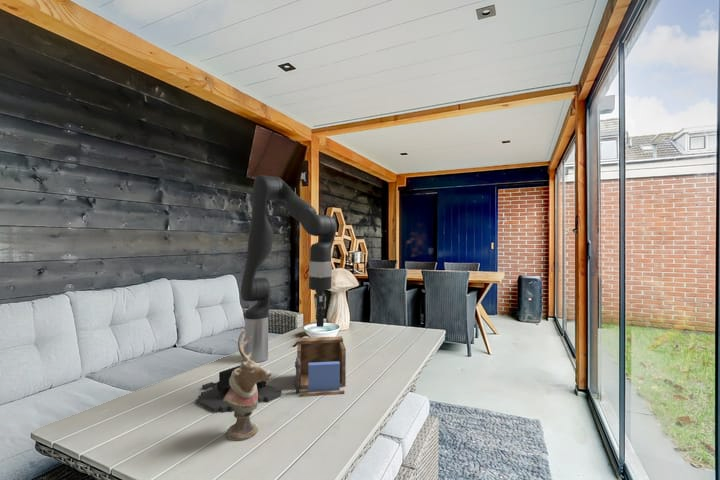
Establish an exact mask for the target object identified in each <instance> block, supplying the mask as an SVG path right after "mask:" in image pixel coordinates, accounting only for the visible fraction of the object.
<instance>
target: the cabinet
mask: <svg viewBox="0 0 720 480" xmlns="http://www.w3.org/2000/svg"><path fill="white" fill-rule="evenodd" d="M296 347H297V350H296V352H297V353H296V358H295V362H294V368H295V380H294V387H295V393H296V394H299V397H313V396H328V395H343V394H345V390H344V389H340V390H337V391H321V392H301V391H300V390H308V368H309V363H314V362H334V361H339V363H340V388H343V387H347V386H346V384H347V383H346V379H347V378H346V371H347V370H346V366H347V365H346V364H347V363H346V360H347V359H346V357H347V356H346V355H347V354H346V353H347V352H346V351H347V350H346V347H345V344H344V338H343V336H342V335H341V336H320V337H319V336H317V337H316V336H315V337H297V346H296Z"/></svg>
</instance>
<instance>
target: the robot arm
mask: <svg viewBox="0 0 720 480" xmlns="http://www.w3.org/2000/svg"><path fill="white" fill-rule="evenodd" d="M267 201H275V202H276V201H279V202H281V203H283V204H285V207H286V210H287V213H288V214H289V216H291V217H292V218H293V219H295V220H296V221H297V222H299V223H300V225H301V226H302V228H303V229H304V232H306V233H307V234H309V235H310V236H313V237H319V238H318V242H315V243H313V244H311V245H310V248H309V266H308V289H309V290H312V291H315V293H313V300H314V303H313V304H314V309H315V321H316V327H318V328H322V327H324V321H325V318H324V317H325V313H326V312H325V309H326V305H327V304H326V301H327V295H326V293H325V291H329V290H331V289H332V280H333V279H332V273H333V271H332V269H333V268H332V249H333V248H332V247H333V245H334V241H335V238H336V234H337V228H338V227H337V222H336V220H335V219H334V217H333V216H332V215H325V214H318V213H317V210H316V208H314V207H313V205H311V204H309V203H308V202H306V200H304V199H302V198H301V197H300V196H299V195H298V194H296V192H294V191H293V189H292V188H291V187H290V186H289V185H288V184H287V183H286V181H284V179H282V178H280V177H279V176H272V175H271V176H270V175H262V174H261V175H258V176H257V177H256V178H255V180H254V182H253V186H252V202H251V203H252V205H251V206H252V209H251V221H250V229H249V234H248V239H247V240H248V242H247V249H246V250H247V252H246V260H245V265H244V266H245V267H244V270H243V275H242V281H241V285H240V297H241V299H242V301H244V302H256V304H254V305H253V306H252V307H250V308H248V309H247V310H245V311H244V331H245V332H244V336H243V343H244V342H245V340H246V339H247V338H249V337H250V336H252V338H251V339H250V341H249V342H248V343H247V344H246V346H245V347H244V349H243V351H244V353H245V354H246V355H248V354H249V353H250V352H253V353H252V354H251V356H252V358H250V360H253V361H254V362H255V363H260V362H265V361H266V360H268V358H269V311H270V300H271V285H270V284H271V283H270V281H269V279H268V278H266V277H256V274H257V272H258V269H259V268H260V267H261V265H262V264H263V263H264V261H265V260H266V259H267V257H268V256H269V255H270V254H271V251H272V249H273V248H272V247H273V243H274V231H273V228H272V225H271V224H270V221H269V218H268V216H267V211H266V210H267ZM243 362H245V360H244V359H243Z"/></svg>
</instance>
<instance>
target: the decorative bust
mask: <svg viewBox="0 0 720 480" xmlns="http://www.w3.org/2000/svg"><path fill="white" fill-rule="evenodd" d="M244 336H245V330H244V331H241V332H240V333H239V336H238V342H237V348H238V351H239V354H240V356H241V357H242V359H243V361H242V362H241V363H240V365H239V366H240V367H239V368H237V369H235V370H233V372H232V374H231V377H230V379H229V384H230V386H231V389H230V390H229V392H228V393H227V394H226V396H225V397H224V399H223V401H224V402H227V403H230V404H232V405H233V407H234V411H233V412H234V413H233V417H234V418H235V419H236V421H235V423H233V424H232V425H230V426H229V427H228V429H227V431H226V435H227V437H228V438H229V439H230V440H233V441H245V440H249V439H251V438H253V437H254V436H255V435H256V434H257V433H258V432H259V426H258V425H257V423H255V422H253V421H251V417H250V416H252V414H253V412H254V411H255V410H256V409H257V408H258V404H259V402H258V390H257V385H256V383H257V382H260V381H262V380H263V381H267V382H269V381H270V379H271V378H272V373H271V371H270V370H269V369H266V368H264V367H261V366H260V362H254V361H253V360H250V358H252V356H251V354H252V353H253V352H250V353H249V354H248V355H246V354H245V353H244V347H245V346H246V344H247V343H248V342H249V341H250V339H251V338H252V336H250V337H249V338H247V339H246V340H245V342H244V341H243V339H244ZM242 341H243V342H242ZM244 360H245V362H244Z"/></svg>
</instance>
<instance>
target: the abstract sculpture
mask: <svg viewBox="0 0 720 480" xmlns="http://www.w3.org/2000/svg"><path fill="white" fill-rule="evenodd" d="M239 367H240V365H237V366H235V367H231V368H228V369H225V370H222V371H219V372H218V381H217V382H213V381H211V382H208V383H205V384H202V387H201V388H202V390H204V391H202V392H200V394H199V395H198V398H196V399H195V404H197V406H198V405H199V406H200V407H202V408H205V409H206V410H208V411H210V412H212V413H213V414H215V413H217V412H221V411H222V413H225V411H226V412H228V411H229V412H231V413H232V412H234V407H233V405H232V404H230V403H227V402H224V401H223V399H224V397H225V396H226V394H227V393H228V392H229V390H230V389H231V386H230V384H229V379H230V377H231V374H232V372H233V370H235V369H237V368H239ZM267 383H268V381H263V380H262V381H260V382H257V383H256V385H257V390H258V404H259V403H263V402H266V403H269V402H272V401H274V400H276V399H279V398H280V397H282V388H280V387H276V386H273V385H271V384H267Z"/></svg>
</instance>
